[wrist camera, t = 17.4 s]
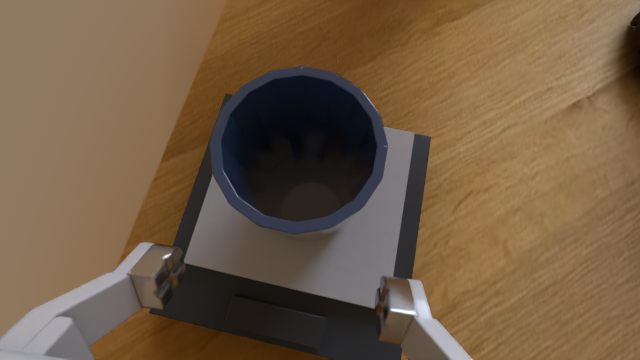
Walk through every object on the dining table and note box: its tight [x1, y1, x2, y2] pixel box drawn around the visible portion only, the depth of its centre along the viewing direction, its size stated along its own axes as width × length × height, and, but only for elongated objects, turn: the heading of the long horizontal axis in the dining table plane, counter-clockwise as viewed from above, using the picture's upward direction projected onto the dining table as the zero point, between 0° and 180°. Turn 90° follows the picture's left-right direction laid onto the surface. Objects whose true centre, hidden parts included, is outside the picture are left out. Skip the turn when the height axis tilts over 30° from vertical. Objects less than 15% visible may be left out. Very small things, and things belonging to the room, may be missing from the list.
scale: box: [149, 94, 431, 360], centre depth 20 cm, size 16×16×3 cm
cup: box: [210, 66, 388, 242], centre depth 14 cm, size 6×6×9 cm
